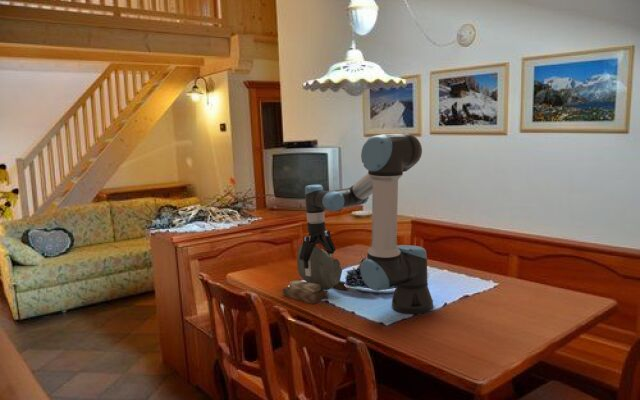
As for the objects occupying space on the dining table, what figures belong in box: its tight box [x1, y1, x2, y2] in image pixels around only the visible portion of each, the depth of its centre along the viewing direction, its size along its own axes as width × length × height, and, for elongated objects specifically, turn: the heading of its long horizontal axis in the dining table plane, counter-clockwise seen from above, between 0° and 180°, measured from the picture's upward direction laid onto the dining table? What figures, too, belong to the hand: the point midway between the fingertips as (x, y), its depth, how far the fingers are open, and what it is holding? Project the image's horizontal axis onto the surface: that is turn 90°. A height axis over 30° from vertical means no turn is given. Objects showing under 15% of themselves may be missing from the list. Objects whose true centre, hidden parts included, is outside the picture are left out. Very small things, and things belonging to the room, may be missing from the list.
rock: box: [296, 244, 343, 291], centre depth 205 cm, size 27×6×20 cm, turn 41°
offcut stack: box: [289, 279, 321, 295], centre depth 199 cm, size 14×4×6 cm, turn 51°
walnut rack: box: [282, 280, 350, 305], centre depth 204 cm, size 18×21×3 cm
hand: (319, 272), depth 205 cm, fingers open, 12 cm apart
